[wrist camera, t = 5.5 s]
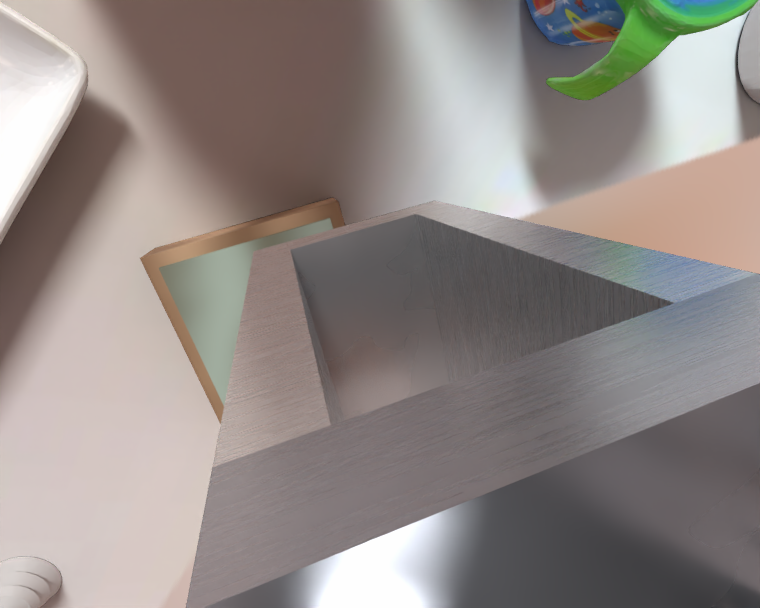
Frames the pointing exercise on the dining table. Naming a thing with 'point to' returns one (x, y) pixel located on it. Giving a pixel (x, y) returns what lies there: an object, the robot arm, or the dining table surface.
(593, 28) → the snack cup
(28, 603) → the chalice
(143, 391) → the dining table surface
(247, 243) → the wooden tray
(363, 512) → the housing
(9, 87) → the square plate
